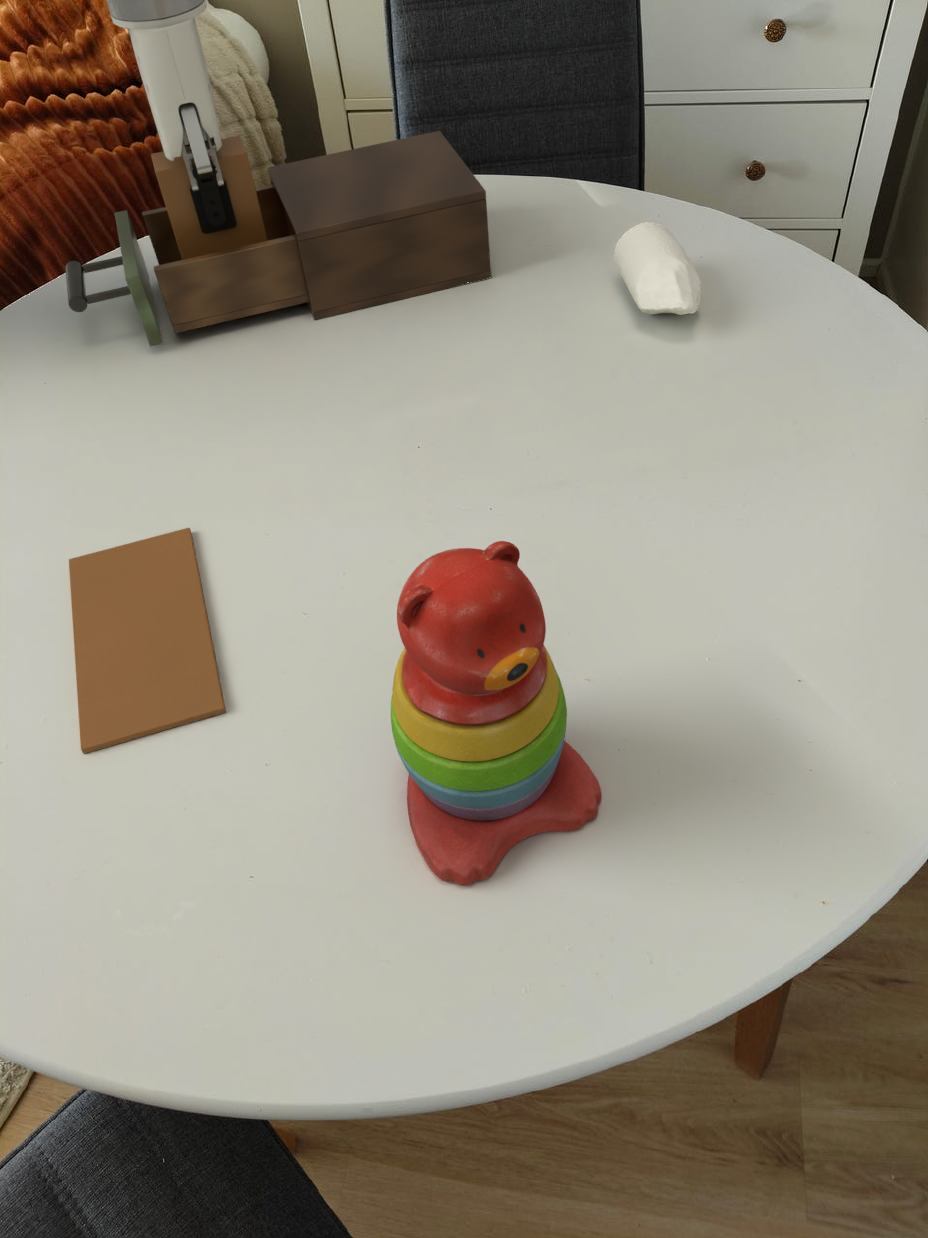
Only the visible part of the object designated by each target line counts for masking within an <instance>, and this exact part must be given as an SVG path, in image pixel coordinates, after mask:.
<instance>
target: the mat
mask: <svg viewBox="0 0 928 1238" xmlns="http://www.w3.org/2000/svg"><path fill="white" fill-rule="evenodd" d="M68 570H69V571H68V572H69V584H70V600H71V602H70V603H71V616H72V631H73V632H72V633H73V645H74V647H73V648H74V663H75V679H76V695H77V708H78V709H77V710H78V727H79V741H80V742H79V744H80V751H81V753H83V754H84V755H85V754H87V753H92V752H95V751H98V750H102V749H105V748H108V747H109V748H110V747H112V746H115V745H119V744H122V743H126V742H128V741H132V740H136V739H140V738H143V737H145V736H150V735H152V734H156V733H160V732H163V731H166V730H169V729H173V728H177V727H180V726H183V725H184V726H185V725H187V724H190V723H193V722H197V721H201V720H204V719H207V718H211V717H214V716H217V715H221V714H224V713H226V712H227V709H226V705H225V700H224V694H223V689H222V684H221V683H222V682H221V679H220V674H219V669H218V664H217V663H218V662H217V658H216V657H217V656H216V653H215V647H214V643H213V637H212V633H211V627H210V622H209V617H208V616H209V615H208V612H207V606H206V600H205V595H204V591H203V586H202V581H201V575H200V570H199V565H198V560H197V555H196V550H195V544H194V538H193V534H192V530H191V528H190V527H185V528H182V529H178V530H175V531H170V532H166V533H163V534H159V535H155V536H152V537H147V538H144V539H140V540H136V541H132V542H129V543H125V544H121V545H118V546H114V547H110V548H106V549H103V550H98V551H95V552H91V553H87V554H84V555H80V556H76V557H73V558H69V559H68Z"/></svg>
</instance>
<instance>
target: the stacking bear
mask: <svg viewBox="0 0 928 1238" xmlns="http://www.w3.org/2000/svg"><path fill="white" fill-rule="evenodd" d="M520 555H521V554H520V549H519V548H518V547H517V546H516V545H515V544H514V543H512V542H510V541H504V540H498V541H494V542H493V543H491V544H489V545H488V546H486V548H485V549H481V548H471V547H461V548H460V547H459V548H451V549H447V550H444V551H441V552H438V553H435V554H433V555H430V556H429V557H428V558H426V559H425V560H423V561H422V562H421V563H420V564H419V565H418V566H416V568H415V569H414V570H413V571H412V573H411V574H410V575H409V576H408V578H406V581H405V582H404V584H403V587H402V589H401V591H400V595H399V596H398V597H399V598H398V602H397V608H396V624H397V629H398V633H399V636H400V640H401V642H402V645H403V647H404V648H403V650H402V652H401V653H400V656H399V658H398V660H397V663H396V666H395V669H394V670H395V671H394V676H393V682H392V692H391V693H392V694H391V700H390V725H391V733H392V738H393V740H394V745H395V748H396V752H397V753H398V756H399V758H400V760H401V762H402V765H403V766H404V768H405V770H406V771H407V773H408V778H407V787H406V788H407V789H406V801H407V802H406V804H407V814H408V821H409V824H410V828H411V832H412V835H413V838H414V842H415V844H416V846H417V849H418V851H419V853H420V855H421V856H422V858H423V860H424V862H425V863H426V865H427V866H428V868H429V869H430V871H431V872H432V873H433V874H434V875H435V876H436V877H437V878H438V879H439V880H440V881H442V882H444V883H451V882H452V883H455V884H457V885H459V886H469V885H471V884H473V883H474V882H477V881H482V880H485V879H486V878H488V877H490V876H491V875H492V874H493V873H494V872H495V871H496V870H497V868H498V867H499V864H500V863H501V861H502V860H503V858H504V857H505V855H506V854H507V853H508V852H509V851H510V850H511V849H512V848H513V847H514V846H515V845H516V844H518V843H519V842H521V841H523V840H524V839H527V838H529V837H531V836H533V835H536V834H540V833H543V832H570V831H571V832H573V831H576V830H579V829H581V828H582V827H583V826H584V825H585V824H586V823H587V822H591V821H593V820H595V819H596V817H598V813H599V806H600V804H601V802H602V797H603V796H602V788H601V785H600V782H599V780H598V778H597V777H596V775H595V774H594V771H593V770H592V769H591V767H590V766H589V764H588V763H587V762H586V760H585V759H584V758H583V757H582V755H581V754H580V753H579V752H578V751H577V750H576V749H575V748H574V747H573V746H571V744H569V743H568V742H567V741H566V740H565V739H566V731H567V721H568V720H567V719H568V708H567V706H568V705H567V700H566V696H565V692H564V687H563V684H562V681H561V679H560V676H559V674H558V672H557V670H556V668H555V665H554V661H553V659H552V657H551V655H550V653H549V651H548V649H547V647H546V646H545V641H546V640H545V639H546V633H547V632H546V631H547V626H546V625H547V624H546V618H545V613H544V608H543V605H542V602H541V598H540V595H539V594H538V592H537V590H536V588H535V587H534V585H533V584H532V582H531V581H530V579H529V578H528V577H527V575H526V574H525V572H523V570H522V569H521V568H520V567H519V565H518V563H519V561H520Z"/></svg>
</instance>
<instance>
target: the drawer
mask: <svg viewBox="0 0 928 1238" xmlns="http://www.w3.org/2000/svg"><path fill="white" fill-rule="evenodd" d="M255 189H256V193H257V197H258V202H259V206H260V210H261V214H262V218H263V223H264V227H265V231H266V235H267V239H268V241H265V242H260V243H256V244H251V245H247V246H243V247H238V248H234V249H229V250H225V251H220V252H216V253H211V254H207V255H202V256H198V257H194V258H189V259H185V260H182V257H181V254H180V250H179V247H178V244H177V241H176V238H175V234H174V231H173V228H172V225H171V221H170V218H169V215H168V212H167V208H166V206H164V207H160V208H155V209H150V210H145V211H142V212H141V215H142V218H143V221H144V224H145V227H146V230H147V233H148V237H149V240H150V243H151V245H152V249H153V252H154V255H155V257H156V260H157V261H156V262H157V264H158V265H154V266H153V271H154V274H155V277H156V280H157V283H158V287H159V290H160V292H161V295H162V298H163V301H164V304H165V308H166V310H167V313H168V317H169V319H170V322H171V325H172V327H173V331H174V333H175V334H178V333H182V332H186V331H191V330H196V329H201V328H204V327H209V326H213V325H217V324H221V323H226V322H229V321H234V320H237V319H241V318H246V317H251V316H254V315H259V314H263V313H267V312H271V311H276V310H280V309H284V308H288V307H293V306H297V305H302V304H307V302H310V300H309V295H308V291H307V286H306V281H305V277H304V272H303V267H302V263H301V258H300V253H299V249H298V244H297V239H296V236H295V234H294V231H293V229H292V227H291V224H290V222H289V220H288V218H287V215H286V213H285V211H284V208H283V206H282V204H281V201H280V199H279V197H278V194H277V192H276V190H275V188H274V185H273V184H271V183H270V184H266V185H260V186H257V187H256V186H255ZM114 218H115V225H116V230H117V236H118V242H119V248H120V253H121V255H120V256H117V257H112V258H107V259H102V260H98V261H94V262H89V263H85V264H81V262H79V261H76V260H70V261H68V262H67V263H66V264H65V267H64V268H65V280H66V292H67V302H68V304H67V305H68V307H69V309H70V310H71V311H73V312H75V313H83V312H85V311H86V310H87V308H88V305H90V304H94V303H100V302H103V301H104V302H105V301H108V300H112V299H116V298H120V297H125V296H130V295H131V298H132V300H133V304H134V306H135V309H136V311H137V315H138V317H139V319H140V322H141V326H142V328H143V331H144V334H145V337H146V340H147V342H148V345H149V347H153V346H159V345H162V344H164V343H163V336H162V333H161V327H160V322H159V317H158V313H157V307H156V303H155V297H154V293H153V292H154V291H153V288H152V283H151V278H150V274H149V271H148V268H147V265H146V262H145V259H144V256H143V254H142V250H141V248H140V244H139V242H138V238H137V235H136V233H135V230H134V226H133V223H132V221H131V218H130V215H129V212H128V210H127V209H125V210H122V211H116V212H114ZM119 266H123V271H124V276H125V282H126V284H127V285H126V286H122V287H117V288H113V289H109V290H105V291H99V292H94V293H91V294H87V288H86V279H85V274H87V273H93V272H96V271H101V270H106V269H110V268H114V267H119Z"/></svg>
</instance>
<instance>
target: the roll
mask: <svg viewBox="0 0 928 1238" xmlns="http://www.w3.org/2000/svg"><path fill="white" fill-rule="evenodd" d="M613 262H614V266H615V267H616V269H617V271H618V272H619V274H620V276H621V277H622V280H623V283H625V286H626V288H627V289H628V291H629V293H630V295H631V298H632V299H633V301H634V302H635V304H636V306H637V307H638V309H639V310H640V311H641V312H642V313H645V314H647V315H659V314H676V315H678V316H682V315H686V314H687V315H688V314H694V313H696V312H698V309H699V308H698V307H699V304H700V303H701V296H702V289H703V288H702V281H701V278H700V277H699V274H698V272H697V271H696V269H695V267H694V266H693V264H692V262H691V260H690V257H689V256H688V253H687V251H686V250H685V248H684V247H683V246H682V244H681V243H680V242H679V241H678V240H677V238H676V236H674V234H673V232H672V231H671V230H670V229H669V228H668V227H666V226H665V225H663V224H661V223H658V222H654V221H644V222H641V223H638V224H636V225H634V226H632V227H631V228H629V229H628V230H626V231H625V232H624V233H623V234H622V236H621V237H620V238H619V240H617V243H616V245H615V248H614V250H613Z"/></svg>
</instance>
